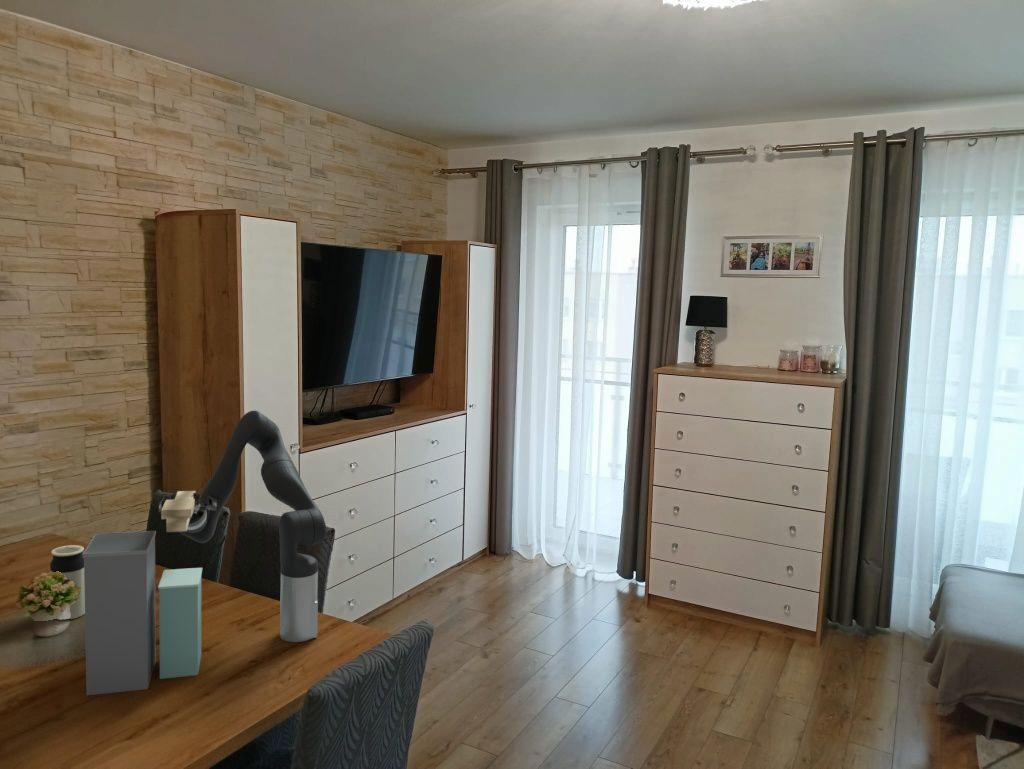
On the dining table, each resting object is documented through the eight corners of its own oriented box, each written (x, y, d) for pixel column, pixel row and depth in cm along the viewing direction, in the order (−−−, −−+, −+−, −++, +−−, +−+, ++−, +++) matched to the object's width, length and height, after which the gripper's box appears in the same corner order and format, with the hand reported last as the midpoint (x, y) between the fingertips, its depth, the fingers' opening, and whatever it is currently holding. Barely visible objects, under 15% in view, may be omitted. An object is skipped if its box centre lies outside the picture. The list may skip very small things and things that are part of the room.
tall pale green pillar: (202, 654, 182) (202, 567, 180) (198, 675, 172) (198, 584, 170) (164, 657, 180) (164, 569, 177) (158, 679, 170) (158, 586, 167)
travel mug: (85, 618, 197) (83, 553, 195) (49, 623, 194) (48, 556, 192) (87, 606, 204) (86, 543, 202) (53, 610, 201) (51, 546, 199)
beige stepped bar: (199, 502, 185) (199, 482, 185) (191, 531, 165) (191, 509, 164) (173, 503, 183) (173, 483, 183) (161, 532, 163) (161, 510, 162)
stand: (156, 660, 178) (155, 530, 174) (148, 689, 166) (147, 550, 162) (98, 665, 174) (96, 533, 170) (85, 696, 162) (82, 553, 158)
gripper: (161, 499, 193) (153, 482, 178) (220, 497, 198) (216, 481, 183) (159, 528, 191) (151, 513, 176) (219, 526, 195) (215, 511, 180)
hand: (184, 497), depth 179 cm, fingers closed on beige stepped bar, 4 cm apart
